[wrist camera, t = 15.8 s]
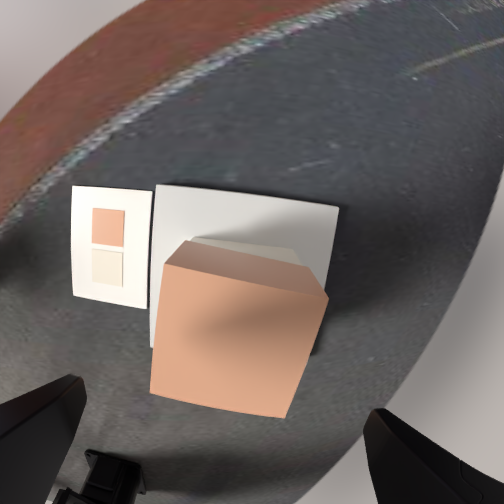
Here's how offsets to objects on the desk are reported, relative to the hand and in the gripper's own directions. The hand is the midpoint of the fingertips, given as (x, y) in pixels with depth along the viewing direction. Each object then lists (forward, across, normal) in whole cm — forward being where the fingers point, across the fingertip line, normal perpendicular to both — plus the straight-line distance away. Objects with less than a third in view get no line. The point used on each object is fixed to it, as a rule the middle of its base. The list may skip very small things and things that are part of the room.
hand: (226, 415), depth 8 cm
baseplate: (+12, 0, 0) cm, 12 cm away
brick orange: (+8, 0, 0) cm, 8 cm away
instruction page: (+12, +9, -1) cm, 15 cm away
